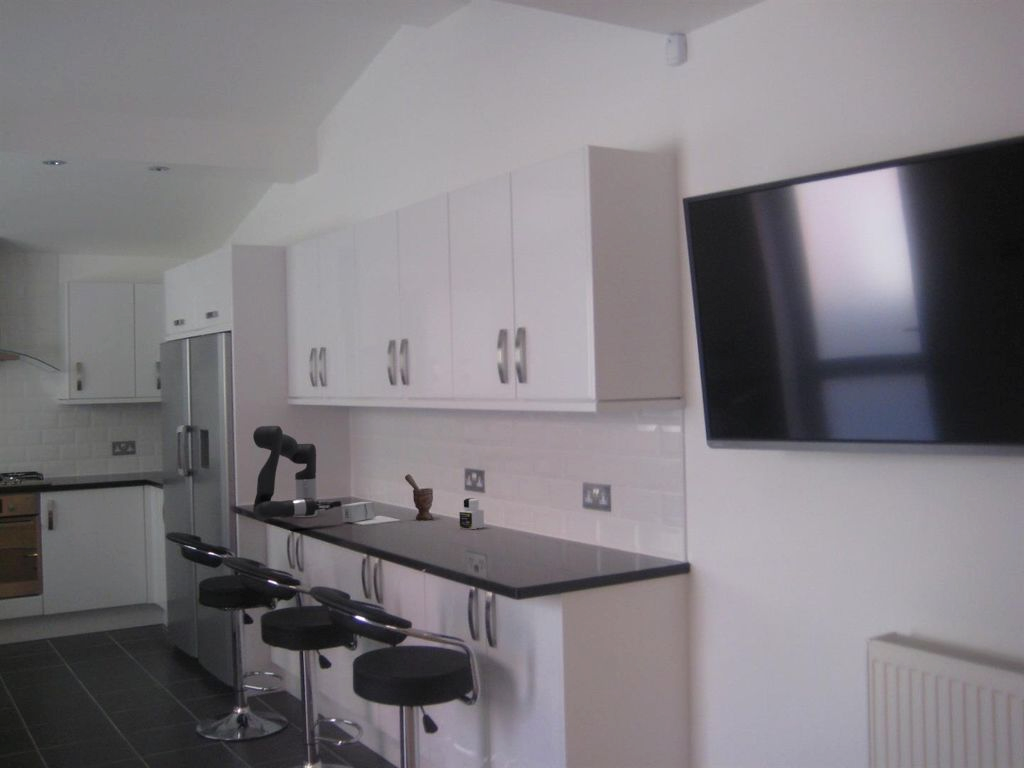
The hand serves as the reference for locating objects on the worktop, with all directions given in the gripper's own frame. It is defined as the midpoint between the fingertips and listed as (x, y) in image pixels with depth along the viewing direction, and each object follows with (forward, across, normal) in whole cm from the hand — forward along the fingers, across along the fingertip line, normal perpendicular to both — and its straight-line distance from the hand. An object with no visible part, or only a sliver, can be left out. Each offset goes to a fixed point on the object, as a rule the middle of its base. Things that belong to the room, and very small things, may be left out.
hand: (340, 503), depth 448 cm
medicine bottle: (+35, -50, +9) cm, 62 cm away
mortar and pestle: (+32, -11, +9) cm, 36 cm away
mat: (+15, 0, +9) cm, 17 cm away
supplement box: (+3, +1, +5) cm, 6 cm away
